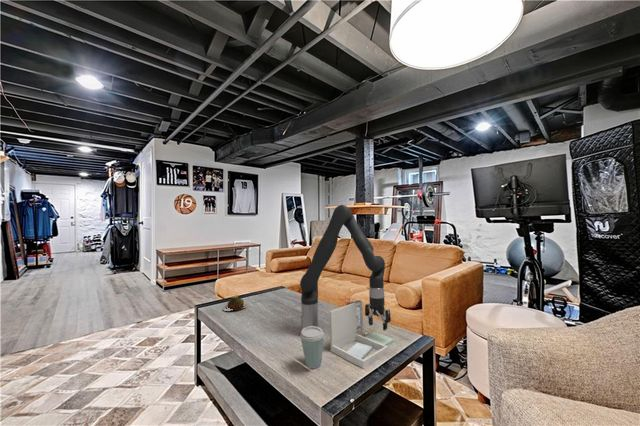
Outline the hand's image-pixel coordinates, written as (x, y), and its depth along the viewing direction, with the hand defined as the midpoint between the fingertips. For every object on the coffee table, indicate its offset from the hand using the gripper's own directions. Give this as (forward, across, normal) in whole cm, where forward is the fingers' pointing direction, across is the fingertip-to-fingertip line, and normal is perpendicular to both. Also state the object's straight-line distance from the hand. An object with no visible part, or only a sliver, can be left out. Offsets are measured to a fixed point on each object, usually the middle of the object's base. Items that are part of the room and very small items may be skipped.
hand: (377, 327), depth 134 cm
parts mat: (+7, 0, 0) cm, 7 cm away
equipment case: (+7, 0, +15) cm, 17 cm away
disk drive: (+7, +19, -4) cm, 21 cm away
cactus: (+8, +102, +31) cm, 107 cm away
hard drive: (+6, -2, +22) cm, 23 cm away
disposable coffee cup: (+7, +7, +37) cm, 39 cm away
